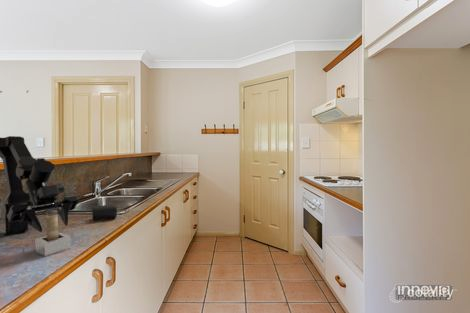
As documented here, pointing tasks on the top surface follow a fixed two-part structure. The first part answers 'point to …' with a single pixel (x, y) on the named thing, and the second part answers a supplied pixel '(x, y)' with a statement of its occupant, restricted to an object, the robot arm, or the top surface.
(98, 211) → the end cap
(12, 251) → the top surface
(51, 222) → the slotted cylinder
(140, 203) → the top surface
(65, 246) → the socket block
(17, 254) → the top surface
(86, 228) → the top surface
